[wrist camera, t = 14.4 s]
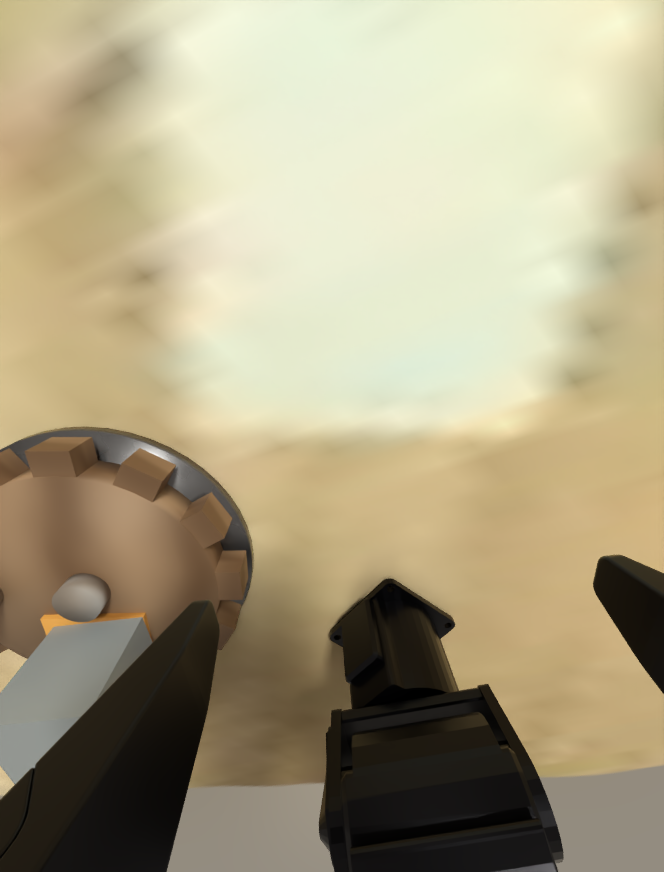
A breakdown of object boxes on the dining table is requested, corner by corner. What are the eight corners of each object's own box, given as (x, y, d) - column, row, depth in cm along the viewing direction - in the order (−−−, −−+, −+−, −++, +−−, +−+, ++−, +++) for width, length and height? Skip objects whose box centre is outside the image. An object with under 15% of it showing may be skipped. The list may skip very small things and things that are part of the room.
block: (142, 617, 20) (87, 716, 15) (166, 677, 21) (124, 781, 17) (53, 626, 20) (-29, 728, 15) (85, 685, 21) (21, 793, 17)
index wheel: (235, 436, 18) (204, 489, 13) (256, 657, 24) (239, 752, 19) (-96, 436, 18) (-266, 492, 12) (9, 664, 24) (-76, 765, 19)
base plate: (307, 533, 22) (306, 540, 21) (168, 682, 26) (165, 690, 26) (38, 362, 17) (28, 364, 17) (-75, 575, 22) (-85, 582, 21)
